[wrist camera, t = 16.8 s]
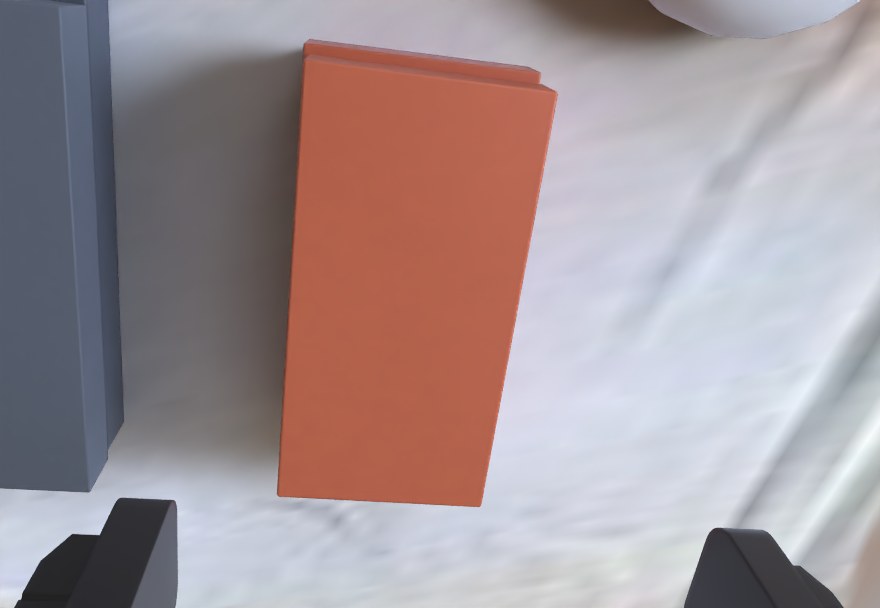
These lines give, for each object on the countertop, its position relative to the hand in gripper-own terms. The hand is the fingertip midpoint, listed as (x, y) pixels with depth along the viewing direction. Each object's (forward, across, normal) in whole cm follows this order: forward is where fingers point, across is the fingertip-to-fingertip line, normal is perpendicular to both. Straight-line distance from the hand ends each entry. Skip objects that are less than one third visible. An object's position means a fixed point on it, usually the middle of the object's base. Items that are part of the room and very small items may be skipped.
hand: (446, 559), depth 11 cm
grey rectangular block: (+15, +12, 0) cm, 19 cm away
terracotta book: (+11, 0, 0) cm, 11 cm away
